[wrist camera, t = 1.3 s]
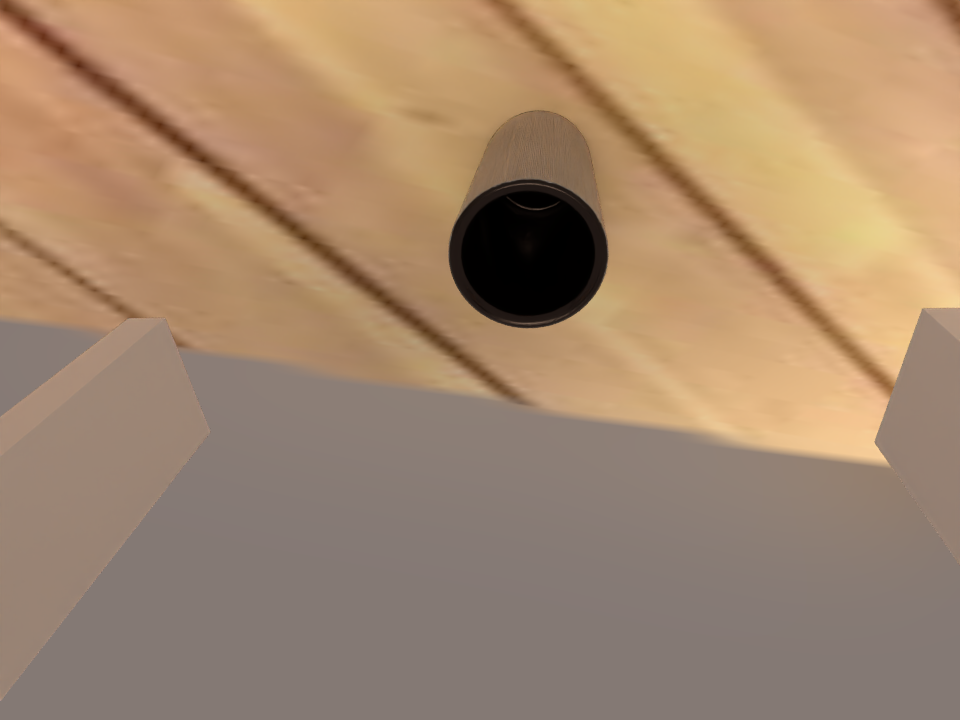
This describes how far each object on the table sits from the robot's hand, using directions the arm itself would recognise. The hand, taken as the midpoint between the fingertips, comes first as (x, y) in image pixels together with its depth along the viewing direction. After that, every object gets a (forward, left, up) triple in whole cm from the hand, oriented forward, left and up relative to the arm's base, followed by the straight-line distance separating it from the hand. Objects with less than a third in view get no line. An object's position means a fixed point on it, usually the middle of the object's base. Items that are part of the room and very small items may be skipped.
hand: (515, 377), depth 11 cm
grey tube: (0, 0, -17) cm, 17 cm away
